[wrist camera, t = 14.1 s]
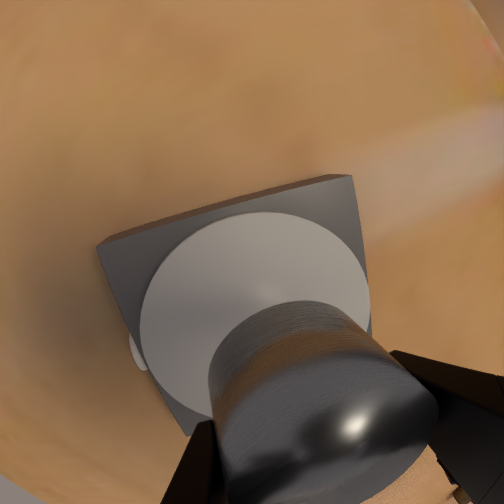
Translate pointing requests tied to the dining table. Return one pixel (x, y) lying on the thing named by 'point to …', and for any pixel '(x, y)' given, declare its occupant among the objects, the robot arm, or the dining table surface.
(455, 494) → the stone weight
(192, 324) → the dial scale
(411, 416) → the cylinder
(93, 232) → the dining table surface
